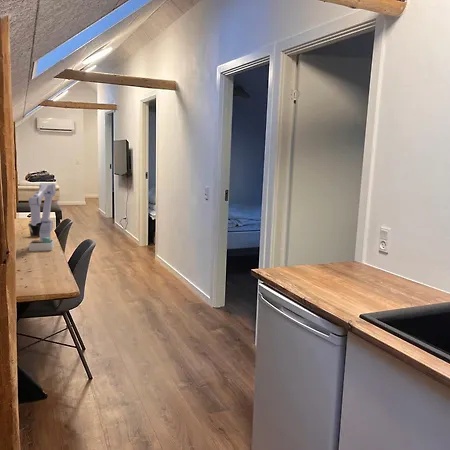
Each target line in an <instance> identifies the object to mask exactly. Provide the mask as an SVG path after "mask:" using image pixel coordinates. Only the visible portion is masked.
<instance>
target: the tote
mask: <svg viewBox="0 0 450 450" xmlns="http://www.w3.org/2000/svg"><path fill="white" fill-rule="evenodd" d="M34 240H35V239H32V240H31V241H30V242H29V243H28V247H29V249H28V250H29V252H44V251H46V252H47V251H53V250H54V248H55V239H51V240H50V241H51V243H43V241H42V243H34V244H32V242H33V241H34Z"/></svg>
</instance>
